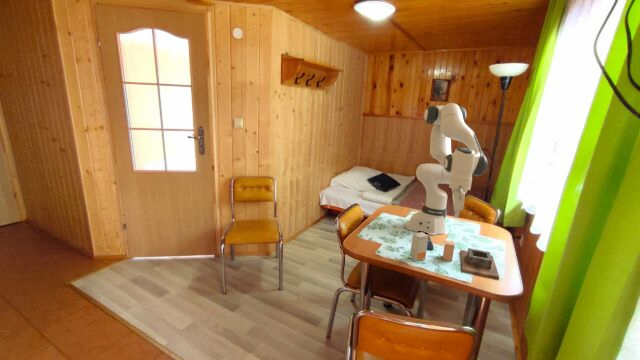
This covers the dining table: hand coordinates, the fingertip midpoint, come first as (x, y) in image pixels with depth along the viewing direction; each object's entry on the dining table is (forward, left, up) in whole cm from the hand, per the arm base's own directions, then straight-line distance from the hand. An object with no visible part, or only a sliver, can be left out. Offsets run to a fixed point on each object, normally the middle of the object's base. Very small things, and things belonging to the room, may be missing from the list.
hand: (455, 213), depth 136 cm
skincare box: (-14, -6, -23) cm, 27 cm away
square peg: (-1, 0, -22) cm, 22 cm away
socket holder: (+12, 0, -22) cm, 26 cm away
